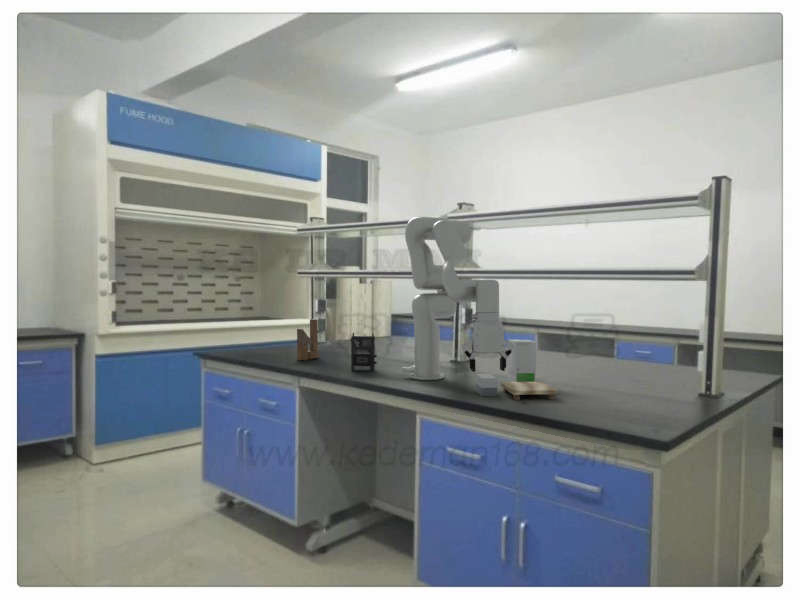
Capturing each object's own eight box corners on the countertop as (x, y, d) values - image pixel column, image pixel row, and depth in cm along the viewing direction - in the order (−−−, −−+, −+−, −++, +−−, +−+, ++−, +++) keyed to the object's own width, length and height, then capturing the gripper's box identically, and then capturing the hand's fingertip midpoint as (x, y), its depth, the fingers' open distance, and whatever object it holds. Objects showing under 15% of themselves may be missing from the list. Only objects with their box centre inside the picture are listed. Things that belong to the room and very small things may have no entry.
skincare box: (515, 386, 196) (515, 341, 195) (506, 382, 202) (507, 339, 201) (536, 384, 198) (537, 341, 197) (527, 381, 204) (528, 338, 204)
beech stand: (513, 400, 173) (513, 390, 173) (500, 391, 187) (500, 382, 187) (557, 399, 174) (557, 390, 174) (541, 390, 188) (541, 381, 188)
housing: (481, 397, 178) (481, 378, 178) (475, 391, 186) (475, 373, 186) (496, 396, 179) (497, 378, 178) (490, 391, 187) (490, 373, 186)
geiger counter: (377, 369, 228) (377, 332, 227) (375, 371, 224) (375, 333, 223) (352, 368, 229) (352, 332, 228) (349, 370, 225) (350, 333, 224)
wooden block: (296, 360, 251) (296, 320, 251) (313, 357, 260) (313, 318, 259) (302, 361, 249) (302, 320, 248) (319, 358, 258) (319, 319, 257)
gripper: (463, 319, 176) (464, 373, 177) (517, 318, 178) (517, 371, 179) (458, 317, 184) (459, 369, 184) (510, 316, 186) (510, 368, 186)
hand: (487, 370), depth 181 cm, fingers open, 9 cm apart
